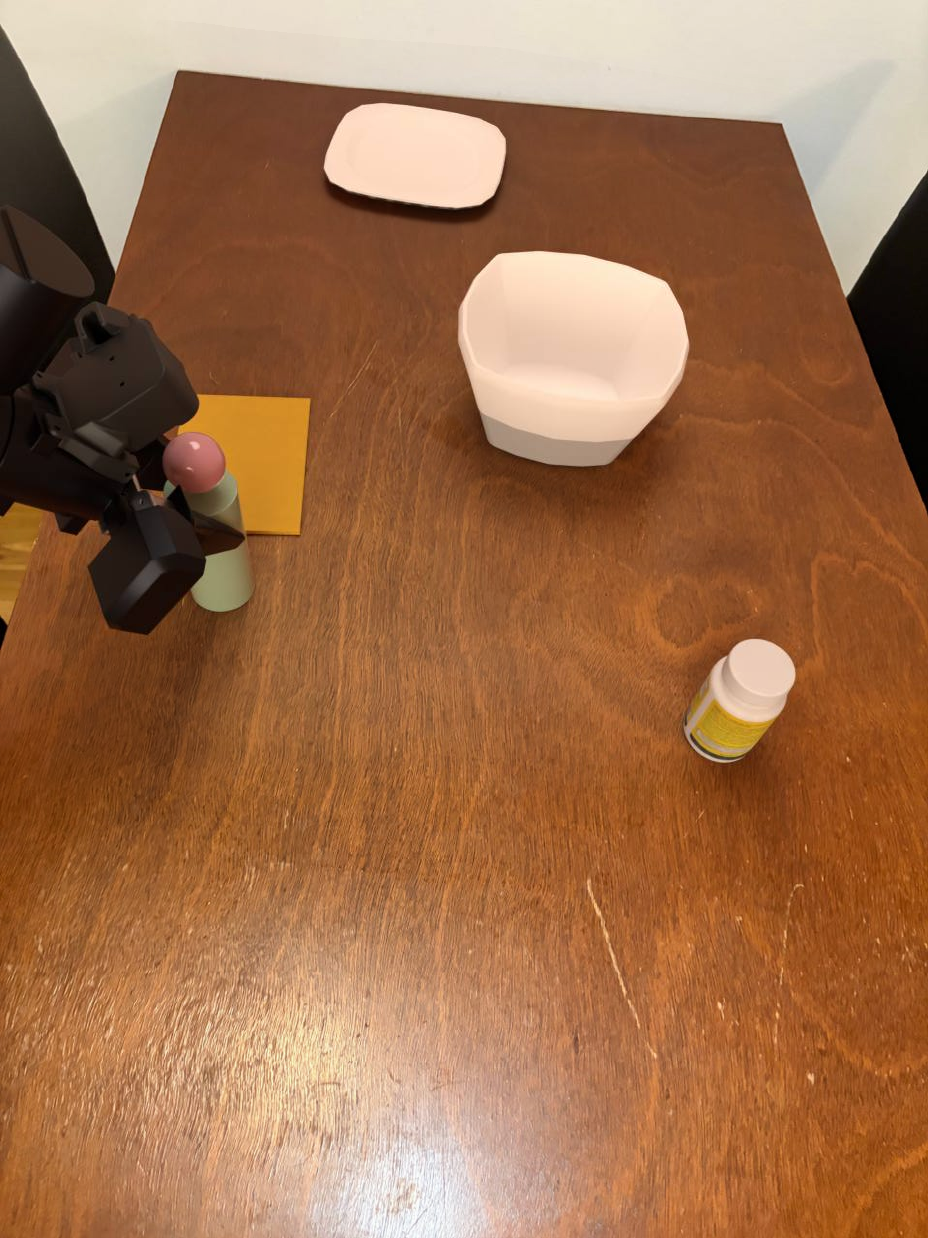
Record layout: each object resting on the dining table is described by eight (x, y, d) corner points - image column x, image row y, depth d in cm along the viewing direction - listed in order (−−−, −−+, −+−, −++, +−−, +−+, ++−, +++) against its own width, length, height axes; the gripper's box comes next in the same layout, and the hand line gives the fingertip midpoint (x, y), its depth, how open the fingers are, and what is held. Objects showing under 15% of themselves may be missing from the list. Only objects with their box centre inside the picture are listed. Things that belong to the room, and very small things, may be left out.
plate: (312, 200, 89) (311, 184, 87) (350, 110, 99) (349, 94, 97) (491, 229, 88) (493, 213, 87) (510, 135, 99) (512, 119, 97)
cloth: (300, 535, 65) (299, 531, 65) (160, 531, 64) (159, 528, 64) (310, 401, 73) (310, 398, 73) (186, 397, 72) (185, 393, 72)
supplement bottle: (762, 760, 58) (814, 699, 51) (693, 768, 57) (738, 707, 50) (738, 696, 61) (785, 629, 54) (673, 703, 60) (712, 636, 53)
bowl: (661, 362, 79) (693, 270, 72) (656, 511, 69) (691, 422, 62) (465, 329, 80) (475, 233, 72) (432, 473, 70) (439, 379, 62)
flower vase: (247, 615, 61) (218, 474, 49) (183, 607, 61) (139, 464, 49) (261, 564, 63) (236, 418, 52) (199, 557, 63) (161, 409, 52)
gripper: (121, 449, 37) (368, 538, 49) (26, 202, 46) (257, 331, 58) (-13, 616, 41) (247, 659, 54) (-76, 360, 50) (160, 448, 62)
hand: (228, 514), depth 57 cm, fingers closed on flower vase, 4 cm apart
